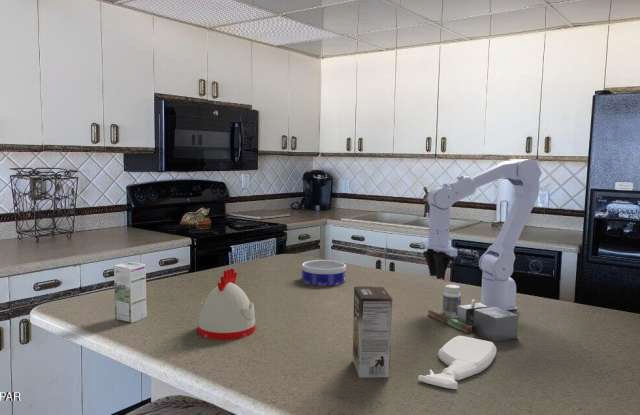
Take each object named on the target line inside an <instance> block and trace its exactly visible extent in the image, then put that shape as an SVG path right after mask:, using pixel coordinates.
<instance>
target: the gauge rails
mask: <svg viewBox="0 0 640 415" xmlns="http://www.w3.org/2000/svg"><path fill="white" fill-rule="evenodd" d="M427 310H428V311H427V313H428V316H429V317H432V318H434V319H436V320H438V321H440V322H442V323H445V324H447V325H448V326H451V327H454V328H455V329H457V330H459V331H462V332H464V333H466V334H470V333H472V332H473V327H472V326H470V325H467V324H465V323H463V322H461V321H458V319H457V318H452V317H449V316H447V315H445V314H443V312H441V311H438V310H436V309H433V308H432V309H427Z"/></svg>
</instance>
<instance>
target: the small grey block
mask: <svg viewBox="0 0 640 415" xmlns="http://www.w3.org/2000/svg"><path fill="white" fill-rule="evenodd" d="M475 303H476V300H475V299H471V303H470V304H464V305H462V304H461V306H459V307H458V318H457V320H458V321H461V322H463V323H465V324H467V325H470V326H472V328H474V310H475V309H483V308H488V306H486V305H483V304H480V303H481V302H477V303H478V304H475Z"/></svg>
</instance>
